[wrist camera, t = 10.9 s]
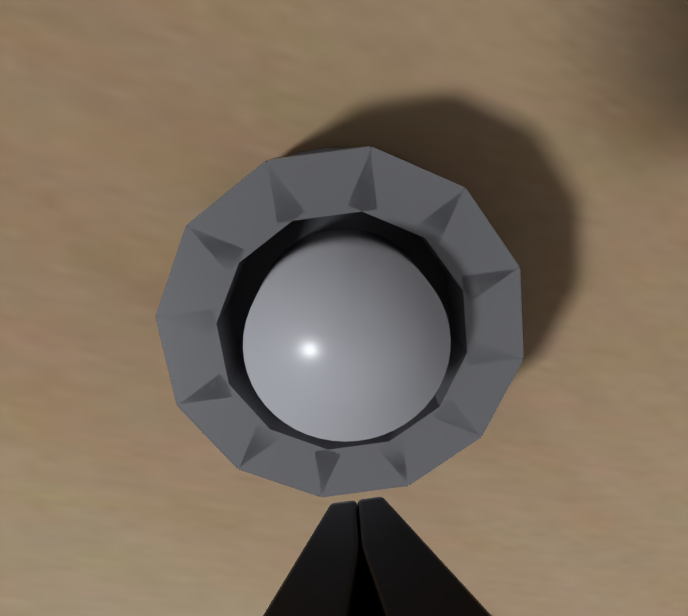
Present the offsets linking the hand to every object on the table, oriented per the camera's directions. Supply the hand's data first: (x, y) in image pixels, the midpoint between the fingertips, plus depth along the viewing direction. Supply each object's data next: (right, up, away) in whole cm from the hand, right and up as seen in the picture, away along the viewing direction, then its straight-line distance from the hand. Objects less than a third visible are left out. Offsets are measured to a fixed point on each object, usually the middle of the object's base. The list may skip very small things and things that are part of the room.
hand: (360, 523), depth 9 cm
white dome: (0, +3, +10) cm, 11 cm away
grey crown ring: (0, +3, +11) cm, 12 cm away
